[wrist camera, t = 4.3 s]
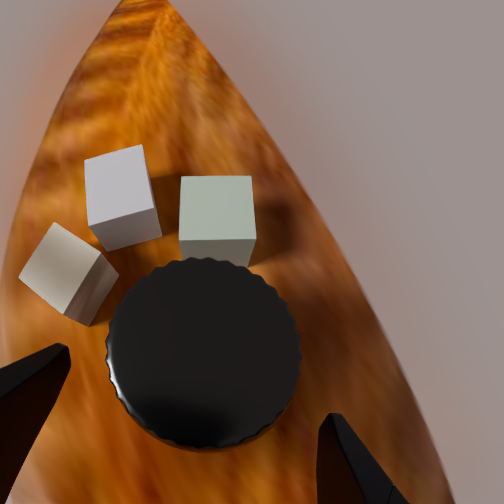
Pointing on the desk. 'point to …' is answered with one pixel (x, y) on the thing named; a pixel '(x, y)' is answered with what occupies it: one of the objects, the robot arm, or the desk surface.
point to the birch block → (69, 275)
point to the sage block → (217, 218)
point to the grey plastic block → (121, 199)
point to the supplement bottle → (203, 355)
